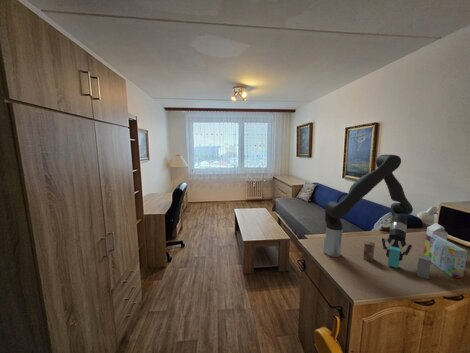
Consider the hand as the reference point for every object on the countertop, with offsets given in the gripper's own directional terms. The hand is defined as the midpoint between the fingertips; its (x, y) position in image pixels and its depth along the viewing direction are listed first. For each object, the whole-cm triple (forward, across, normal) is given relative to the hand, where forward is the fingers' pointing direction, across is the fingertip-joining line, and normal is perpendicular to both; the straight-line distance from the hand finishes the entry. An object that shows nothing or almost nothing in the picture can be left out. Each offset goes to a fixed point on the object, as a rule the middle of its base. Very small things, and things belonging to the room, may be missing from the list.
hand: (393, 258), depth 110 cm
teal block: (+2, 0, +5) cm, 5 cm away
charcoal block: (+3, +12, +5) cm, 13 cm away
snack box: (-10, +20, +18) cm, 29 cm away
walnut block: (+3, -12, +5) cm, 13 cm away
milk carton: (-24, +18, +32) cm, 44 cm away
